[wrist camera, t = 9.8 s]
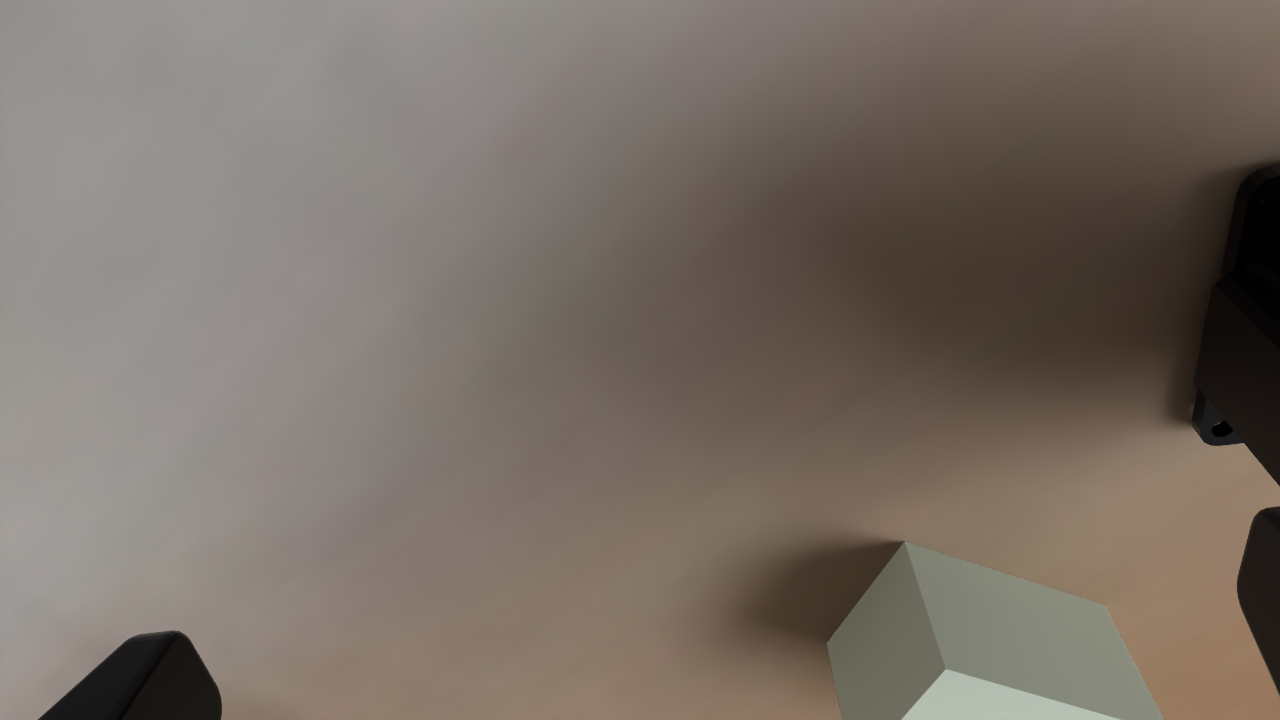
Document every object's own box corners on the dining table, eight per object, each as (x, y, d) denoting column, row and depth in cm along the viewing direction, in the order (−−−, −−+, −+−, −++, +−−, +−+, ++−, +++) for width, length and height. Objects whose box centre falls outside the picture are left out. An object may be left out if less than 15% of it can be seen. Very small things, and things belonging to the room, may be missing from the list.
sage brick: (1102, 601, 26) (1171, 734, 23) (1013, 693, 28) (1065, 827, 25) (903, 537, 25) (946, 668, 21) (825, 638, 27) (853, 773, 23)
